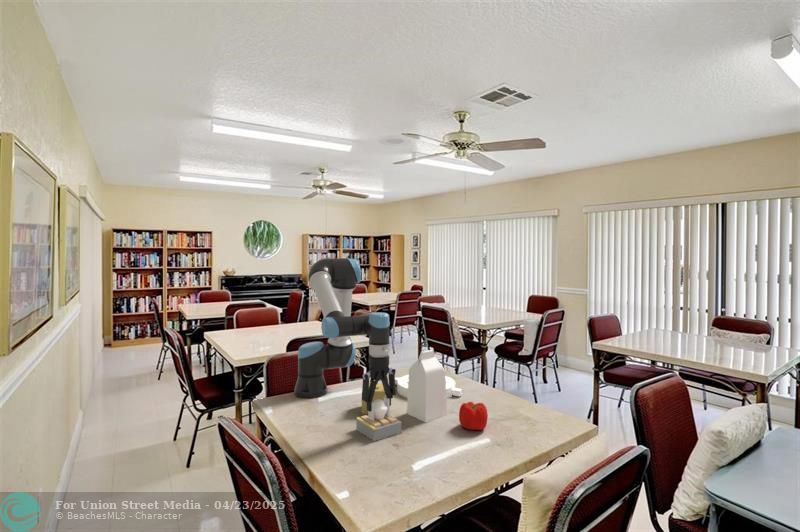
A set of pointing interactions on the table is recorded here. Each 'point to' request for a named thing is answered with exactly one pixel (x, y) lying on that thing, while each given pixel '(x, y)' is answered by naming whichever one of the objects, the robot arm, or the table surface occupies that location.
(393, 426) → the dock
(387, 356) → the robot arm
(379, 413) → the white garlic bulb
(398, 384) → the white circle with bar
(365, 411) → the cheese
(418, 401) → the milk
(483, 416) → the red bell pepper
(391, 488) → the table surface
